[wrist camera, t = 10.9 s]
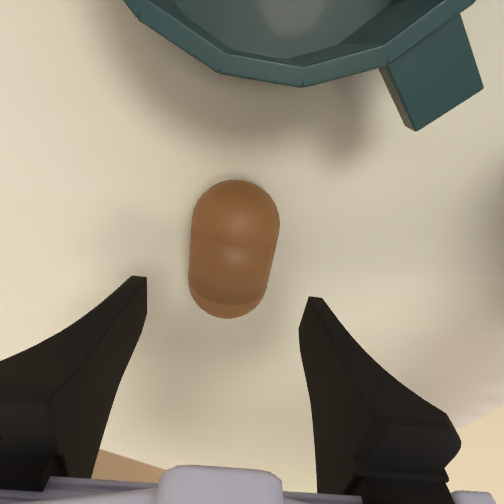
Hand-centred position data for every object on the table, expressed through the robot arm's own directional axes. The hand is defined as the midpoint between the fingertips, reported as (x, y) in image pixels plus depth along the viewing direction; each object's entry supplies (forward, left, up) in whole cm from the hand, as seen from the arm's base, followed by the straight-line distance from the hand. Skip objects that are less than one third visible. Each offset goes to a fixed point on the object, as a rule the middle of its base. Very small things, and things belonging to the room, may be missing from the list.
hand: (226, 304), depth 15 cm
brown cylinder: (0, 0, -7) cm, 7 cm away
